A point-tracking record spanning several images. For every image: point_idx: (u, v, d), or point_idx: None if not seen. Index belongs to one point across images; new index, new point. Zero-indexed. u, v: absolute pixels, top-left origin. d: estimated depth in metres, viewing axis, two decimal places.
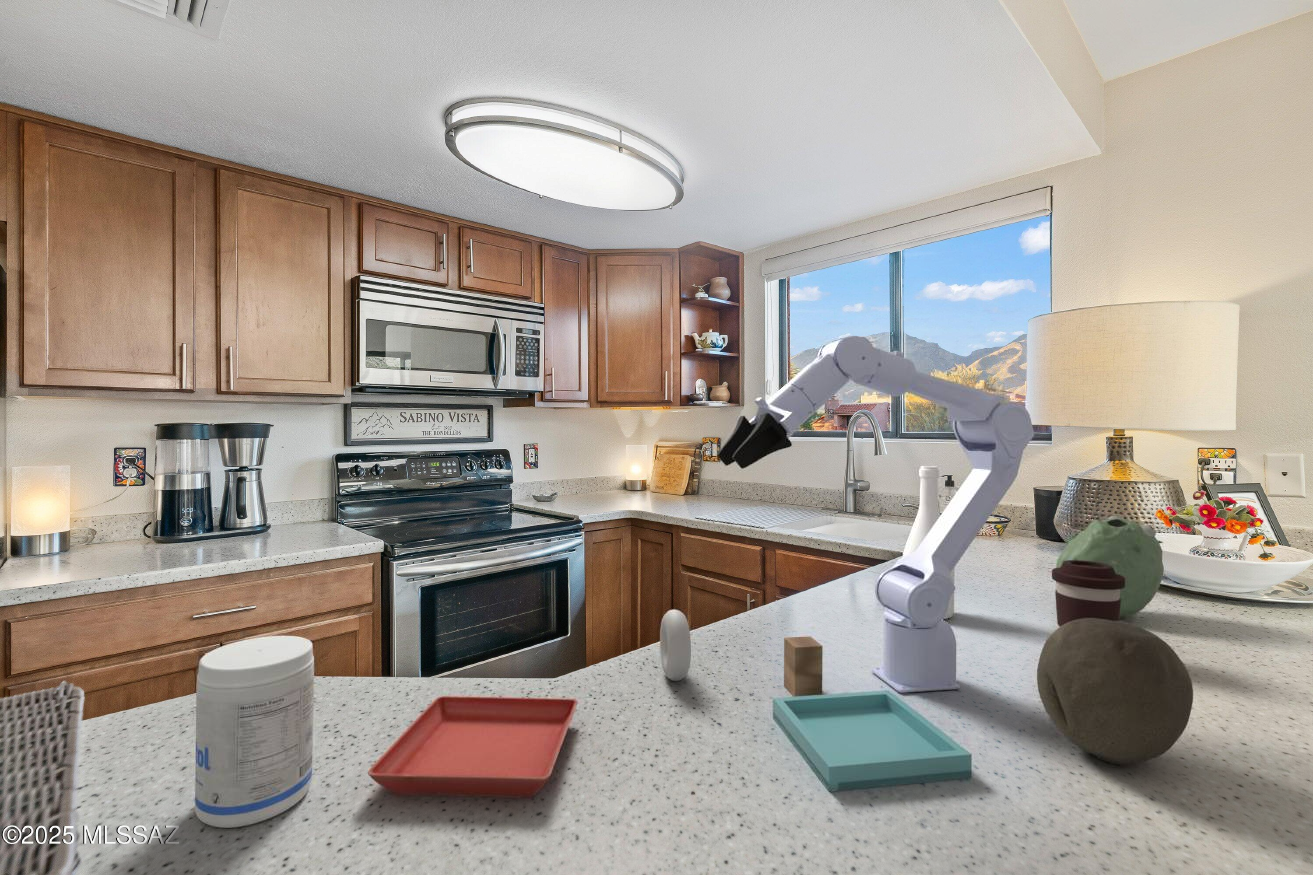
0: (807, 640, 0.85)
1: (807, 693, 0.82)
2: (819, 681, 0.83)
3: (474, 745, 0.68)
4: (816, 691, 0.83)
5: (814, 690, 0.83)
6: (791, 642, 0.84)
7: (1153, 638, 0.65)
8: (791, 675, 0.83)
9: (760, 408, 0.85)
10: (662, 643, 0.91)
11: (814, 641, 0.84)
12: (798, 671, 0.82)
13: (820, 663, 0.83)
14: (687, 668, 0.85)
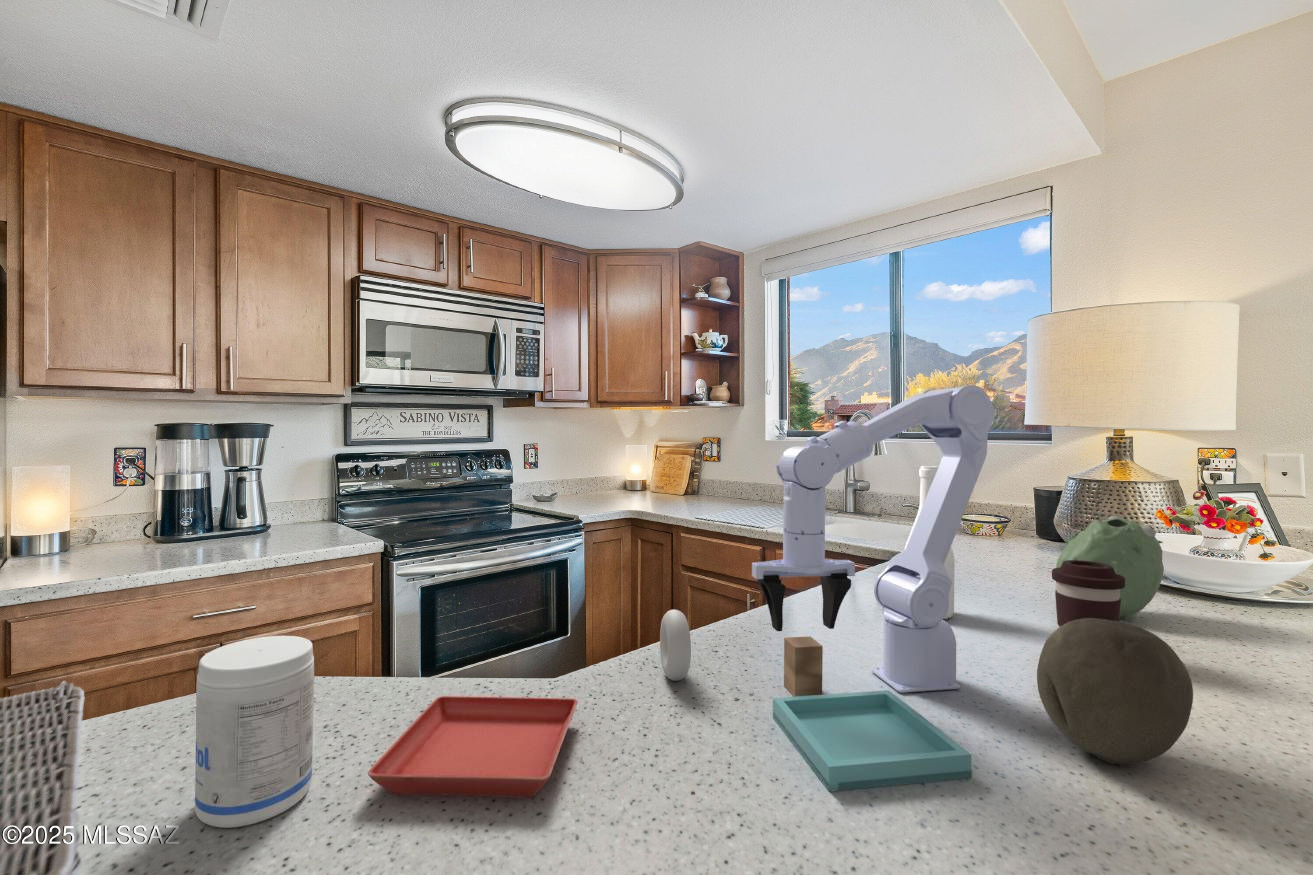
0: (807, 640, 0.85)
1: (807, 693, 0.82)
2: (819, 681, 0.83)
3: (474, 745, 0.68)
4: (816, 691, 0.83)
5: (814, 690, 0.83)
6: (791, 642, 0.84)
7: (1153, 638, 0.65)
8: (791, 675, 0.83)
9: None
10: (662, 643, 0.91)
11: (814, 641, 0.84)
12: (798, 671, 0.82)
13: (820, 663, 0.83)
14: (687, 668, 0.85)
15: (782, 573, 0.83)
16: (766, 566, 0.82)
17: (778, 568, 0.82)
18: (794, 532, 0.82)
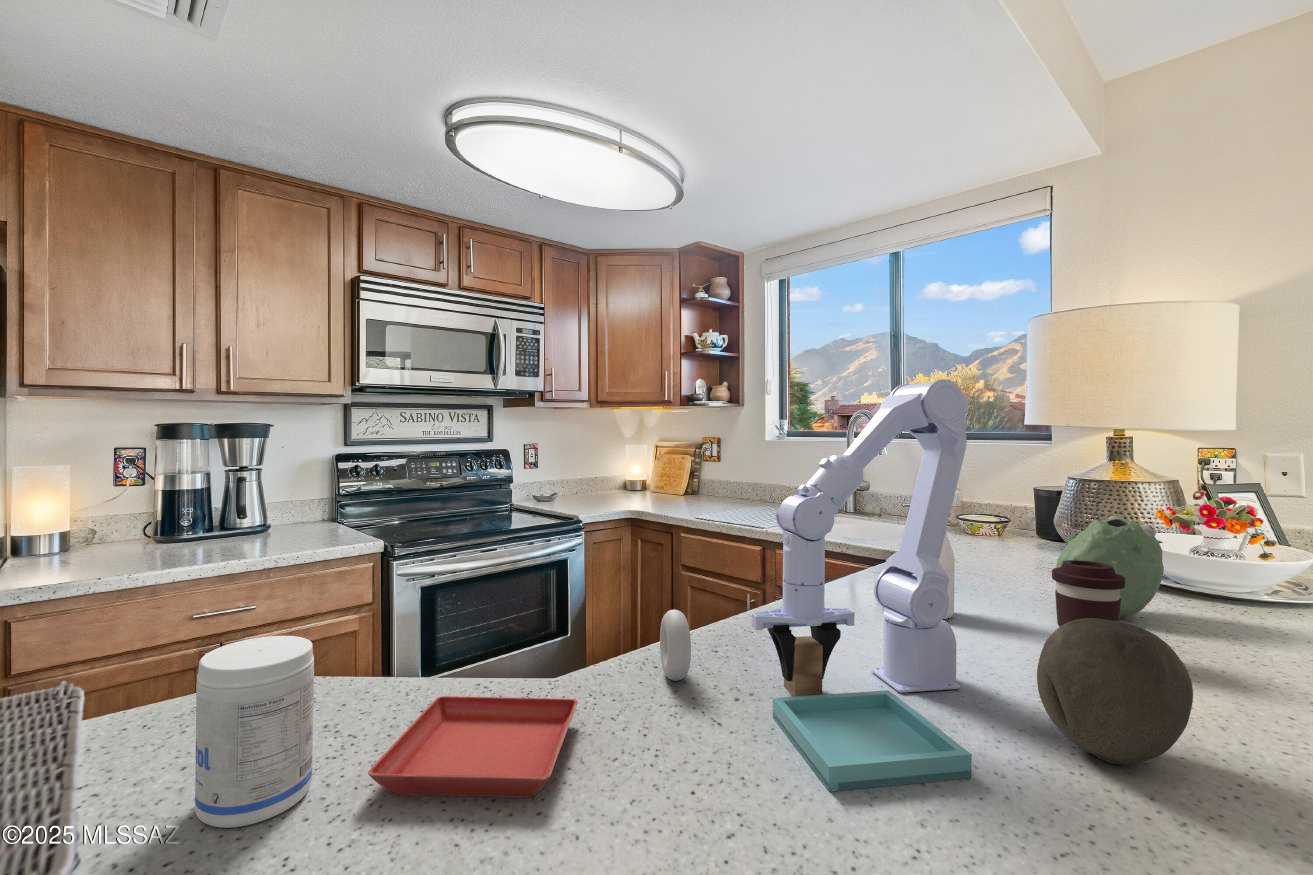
0: (807, 640, 0.85)
1: (807, 693, 0.82)
2: (819, 681, 0.83)
3: (474, 745, 0.68)
4: (816, 691, 0.83)
5: (814, 689, 0.83)
6: None
7: (1153, 638, 0.65)
8: None
9: None
10: (662, 643, 0.91)
11: (814, 641, 0.84)
12: (798, 671, 0.82)
13: (820, 663, 0.83)
14: (687, 668, 0.85)
15: (782, 623, 0.84)
16: (766, 617, 0.82)
17: (778, 619, 0.82)
18: (794, 583, 0.82)
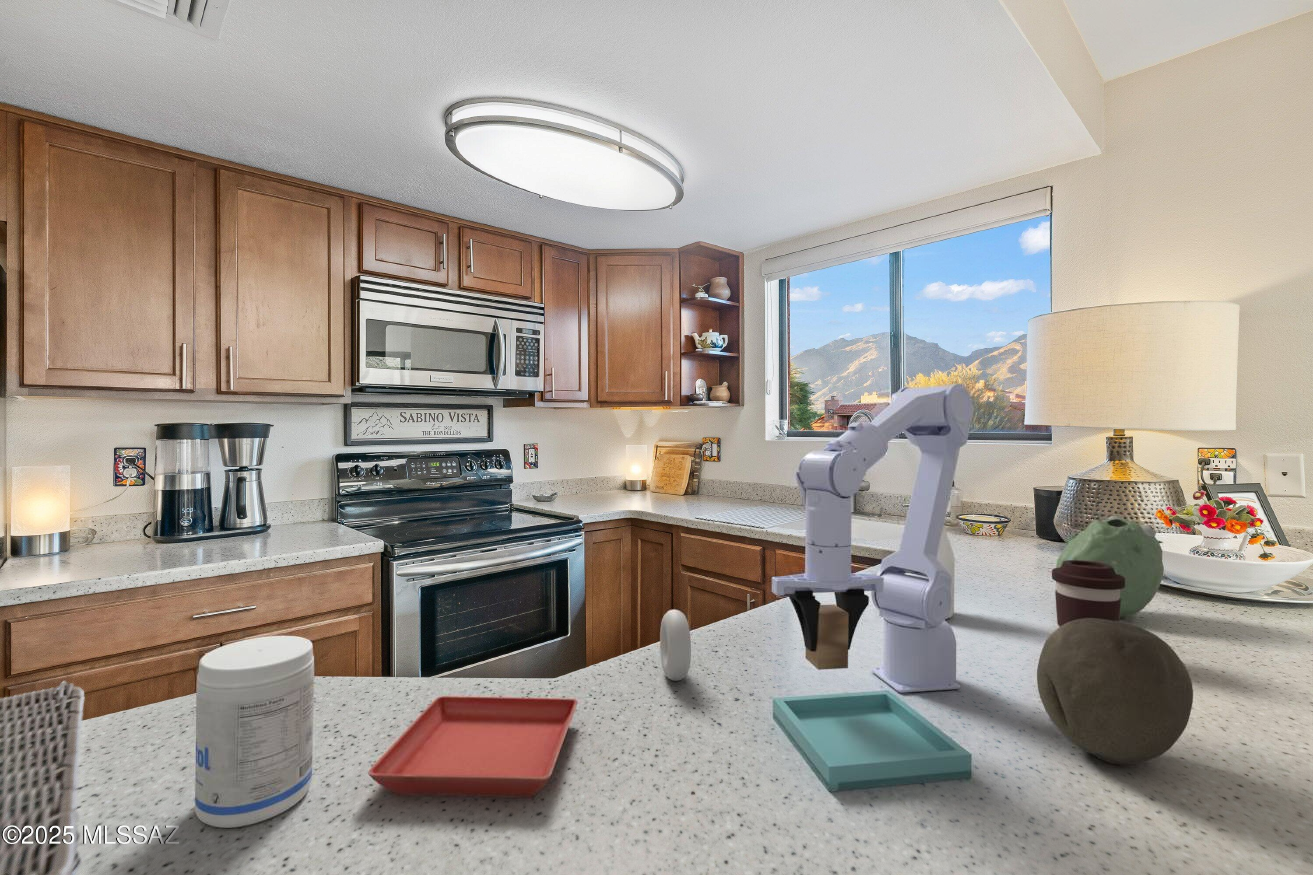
0: (831, 608, 0.78)
1: (832, 664, 0.76)
2: (845, 651, 0.76)
3: (474, 745, 0.68)
4: (841, 662, 0.76)
5: (839, 660, 0.76)
6: None
7: (1153, 638, 0.65)
8: None
9: None
10: (662, 643, 0.91)
11: (839, 609, 0.78)
12: (822, 640, 0.76)
13: (845, 632, 0.76)
14: (687, 668, 0.85)
15: (804, 589, 0.77)
16: (787, 581, 0.76)
17: (800, 583, 0.75)
18: (818, 544, 0.76)
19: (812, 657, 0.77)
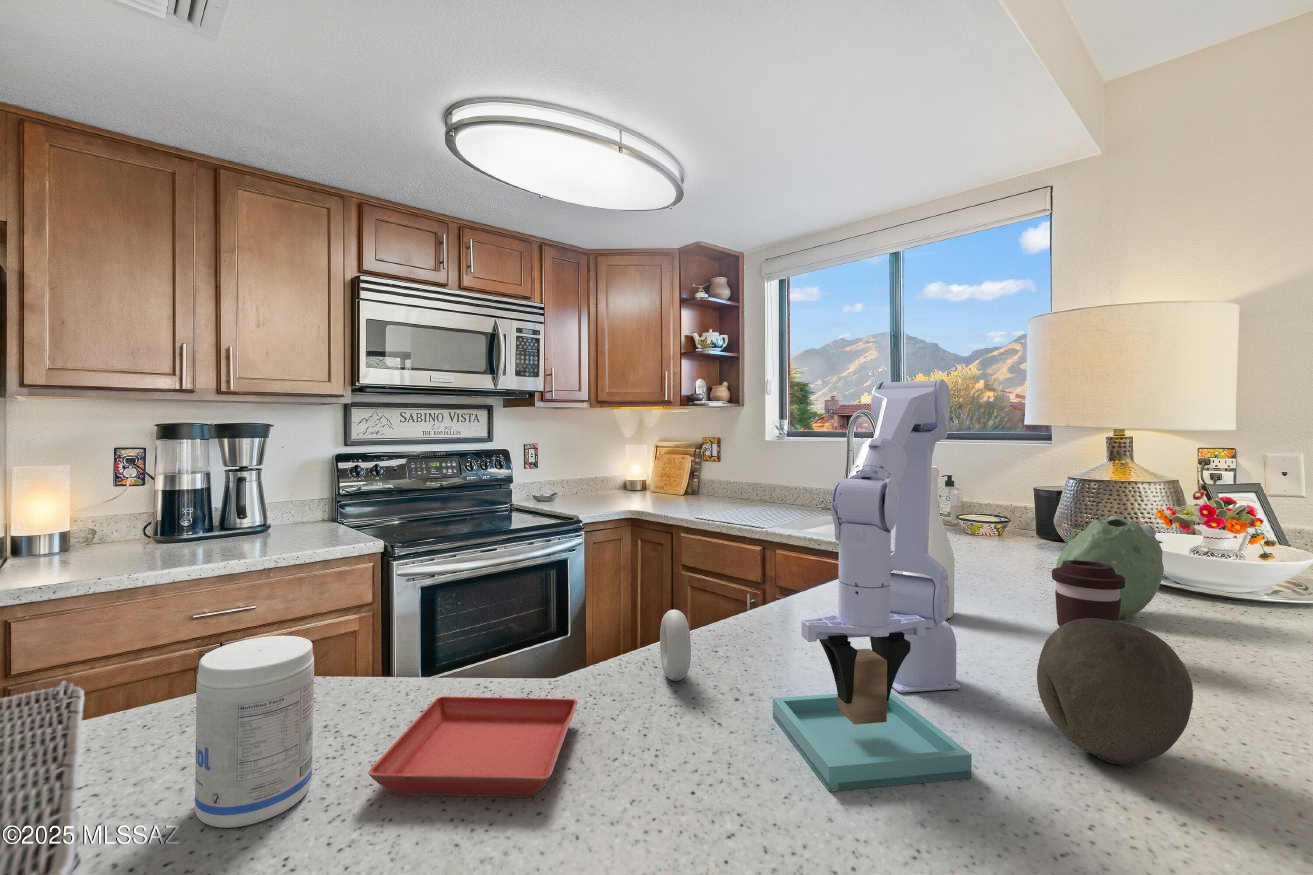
0: (867, 653, 0.71)
1: (869, 718, 0.68)
2: (883, 703, 0.68)
3: (474, 745, 0.68)
4: (879, 716, 0.68)
5: (877, 714, 0.68)
6: None
7: (1153, 638, 0.65)
8: None
9: None
10: (662, 643, 0.91)
11: (875, 655, 0.70)
12: (858, 691, 0.68)
13: (884, 682, 0.68)
14: (687, 668, 0.85)
15: (838, 633, 0.69)
16: (820, 626, 0.68)
17: (835, 628, 0.67)
18: (854, 585, 0.68)
19: (846, 709, 0.69)
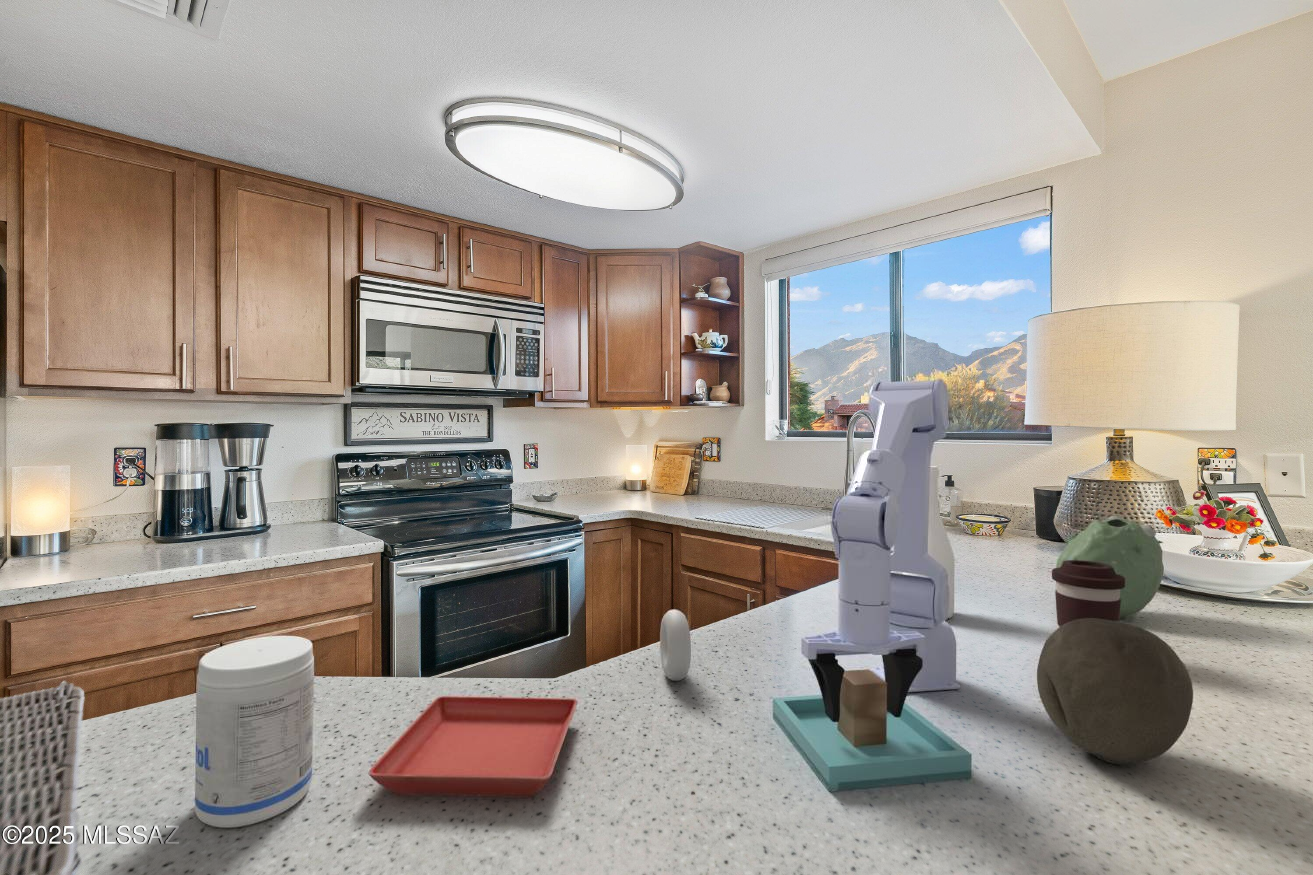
0: (867, 675, 0.71)
1: (868, 740, 0.68)
2: (883, 725, 0.68)
3: (474, 745, 0.68)
4: (879, 738, 0.68)
5: (877, 736, 0.68)
6: (848, 677, 0.70)
7: (1153, 638, 0.65)
8: (849, 718, 0.69)
9: None
10: (662, 643, 0.91)
11: (875, 676, 0.70)
12: (858, 713, 0.68)
13: (883, 704, 0.68)
14: (687, 668, 0.85)
15: (838, 650, 0.69)
16: (820, 643, 0.68)
17: (835, 646, 0.67)
18: (854, 602, 0.68)
19: (846, 731, 0.70)
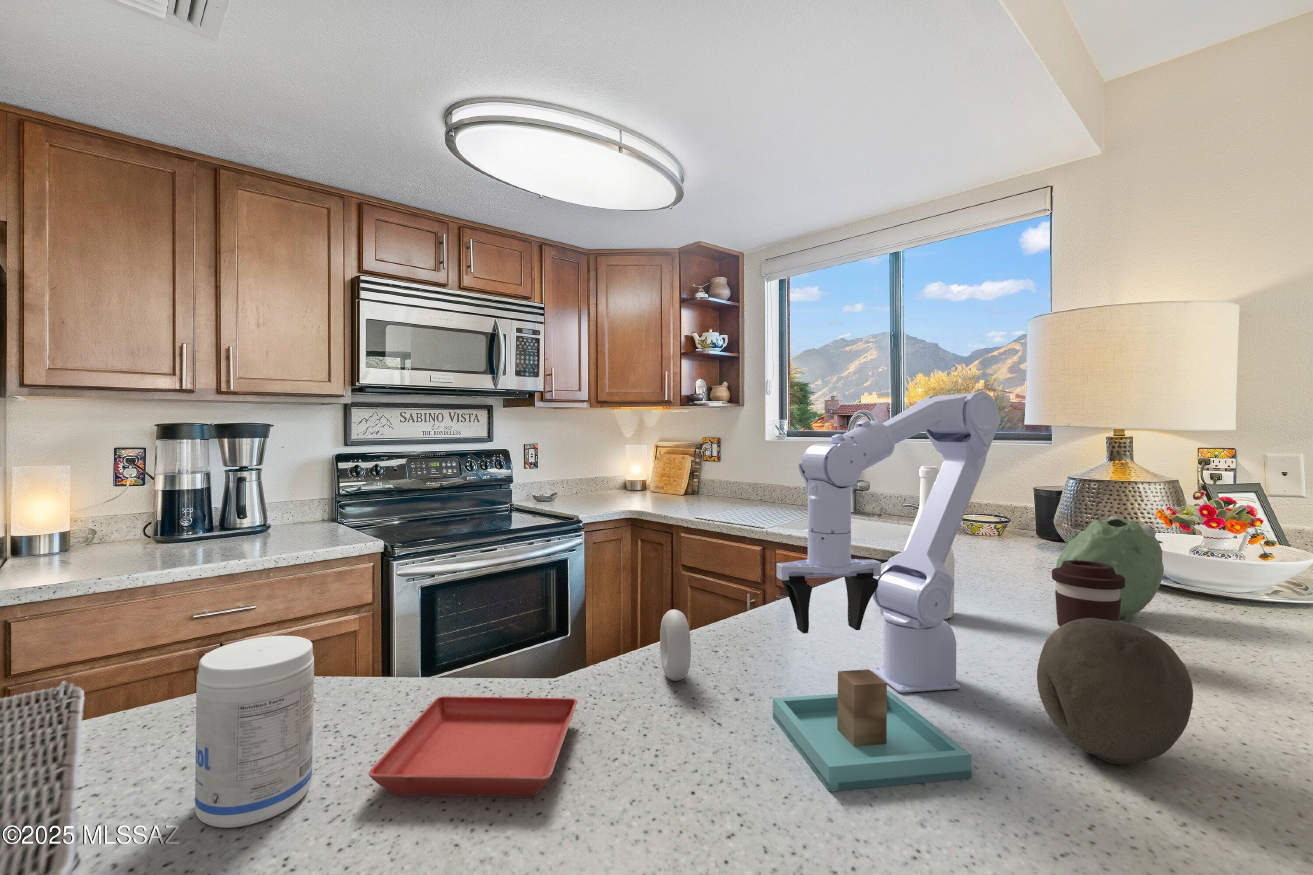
0: (867, 675, 0.71)
1: (868, 740, 0.68)
2: (883, 725, 0.68)
3: (474, 745, 0.68)
4: (879, 738, 0.68)
5: (877, 736, 0.68)
6: (848, 677, 0.70)
7: (1153, 638, 0.65)
8: (849, 718, 0.69)
9: None
10: (662, 643, 0.91)
11: (875, 676, 0.70)
12: (858, 713, 0.68)
13: (883, 704, 0.68)
14: (687, 668, 0.85)
15: (807, 574, 0.81)
16: (792, 567, 0.80)
17: (804, 569, 0.80)
18: (820, 532, 0.80)
19: (846, 731, 0.70)
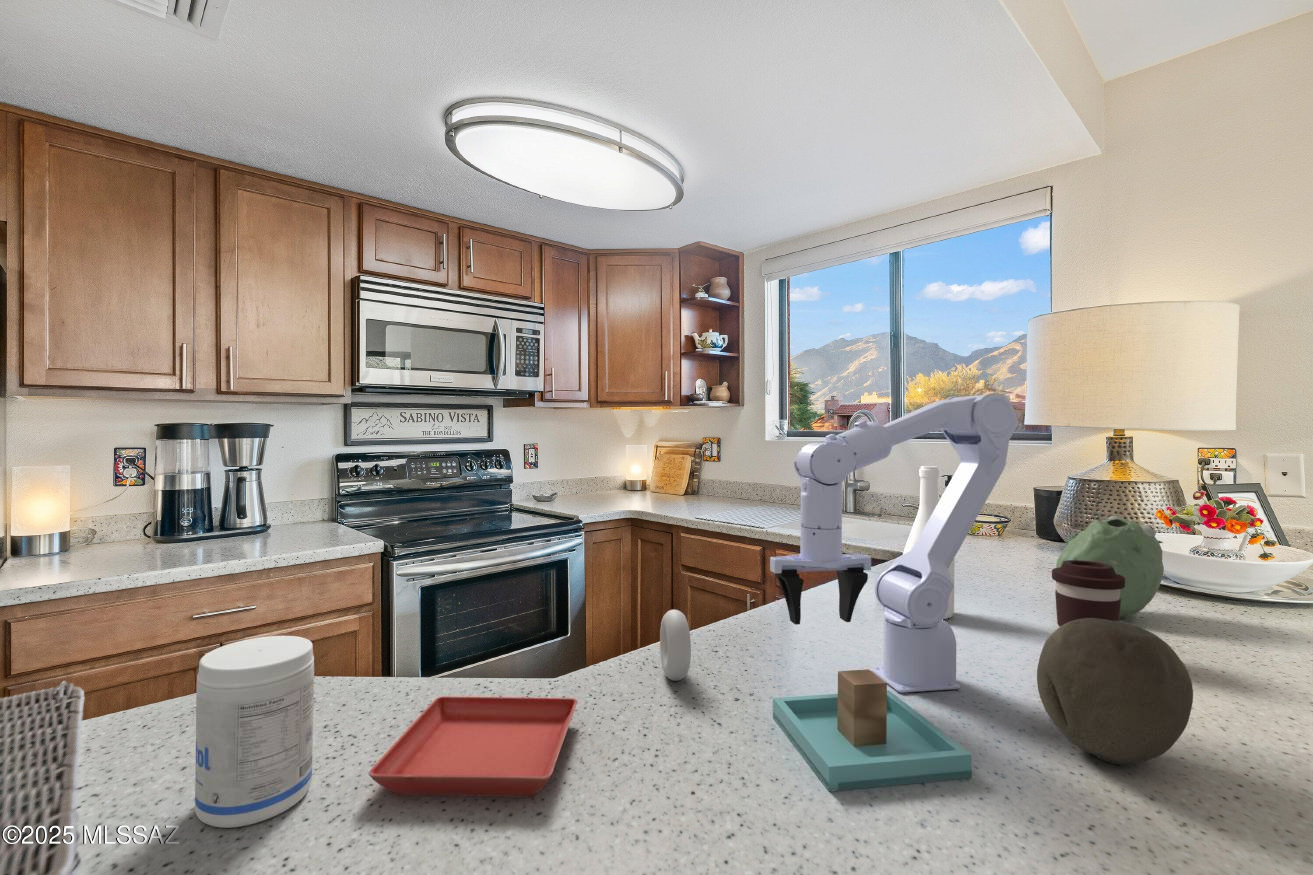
0: (867, 675, 0.71)
1: (868, 740, 0.68)
2: (883, 725, 0.68)
3: (474, 745, 0.68)
4: (879, 738, 0.68)
5: (877, 736, 0.68)
6: (848, 677, 0.70)
7: (1153, 638, 0.65)
8: (849, 718, 0.69)
9: None
10: (662, 643, 0.91)
11: (875, 676, 0.70)
12: (858, 713, 0.68)
13: (883, 704, 0.68)
14: (687, 668, 0.85)
15: (800, 567, 0.85)
16: (784, 560, 0.84)
17: (796, 562, 0.83)
18: (812, 527, 0.84)
19: (846, 731, 0.70)
